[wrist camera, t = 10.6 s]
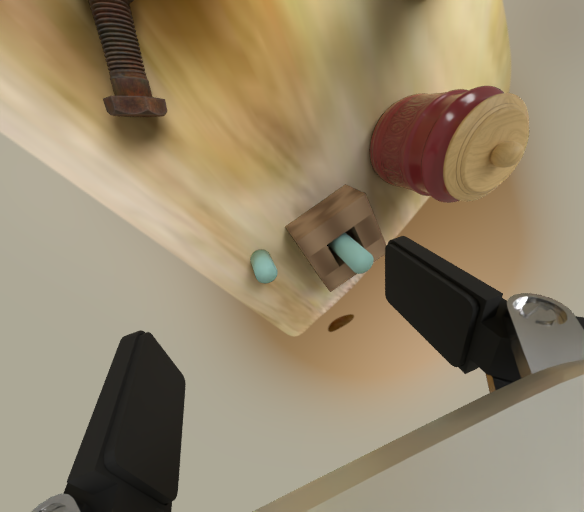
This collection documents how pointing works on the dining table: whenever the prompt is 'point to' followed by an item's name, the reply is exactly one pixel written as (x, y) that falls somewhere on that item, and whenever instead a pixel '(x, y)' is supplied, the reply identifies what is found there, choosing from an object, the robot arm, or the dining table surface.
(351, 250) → the tall dowel
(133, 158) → the dining table surface
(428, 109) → the canister
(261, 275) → the short dowel
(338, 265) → the socket block
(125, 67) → the bolt
